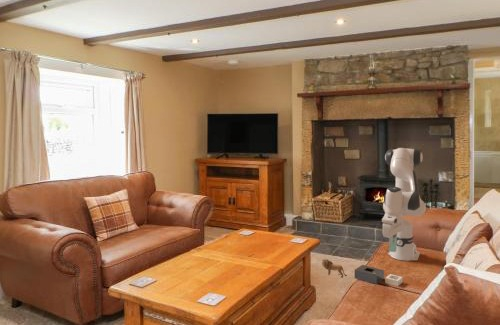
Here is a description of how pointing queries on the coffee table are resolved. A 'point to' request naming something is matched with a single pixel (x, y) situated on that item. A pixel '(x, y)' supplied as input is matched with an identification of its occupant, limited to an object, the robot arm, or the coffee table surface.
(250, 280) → the coffee table surface
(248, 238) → the coffee table surface
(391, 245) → the plug
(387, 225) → the robot arm
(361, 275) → the block
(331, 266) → the lion figurine
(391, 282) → the white square block
